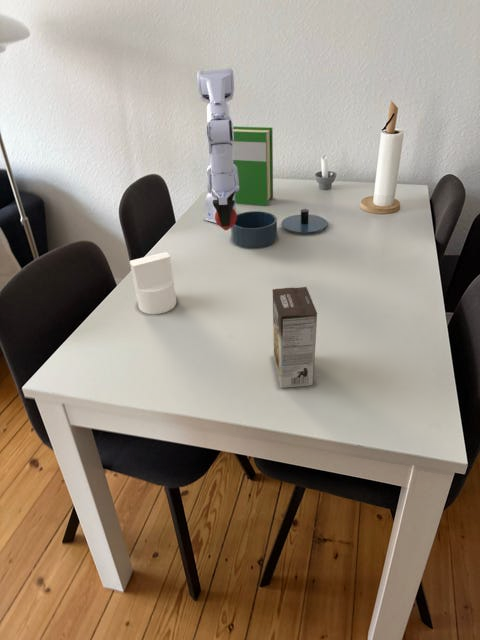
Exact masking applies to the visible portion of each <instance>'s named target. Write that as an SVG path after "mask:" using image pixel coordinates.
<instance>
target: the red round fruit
mask: <svg viewBox="0 0 480 640" xmlns="http://www.w3.org/2000/svg"><path fill="white" fill-rule="evenodd" d="M237 215H238V214H237V211H236V212H235V210H234V209H233V208H232V212H231V220H230V225H229V226H222V225H221V223H220V219H219V216H218V213H217V211H216V213H215V221H216V223H215V224H217V226H218V227H220V228H221V229H223V230H224V231H228V230H231V227H232V226H233V225H234V224H235V222H236V220H237Z"/></svg>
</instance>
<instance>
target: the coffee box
mask: <svg viewBox="0 0 480 640" xmlns="http://www.w3.org/2000/svg"><path fill="white" fill-rule="evenodd" d="M271 291H272V323H273V324H272V325H273V359H274V364H275V369H276V373H277V378H278V382H279V386H280V388H281V389H286V388H297V387H307V386H313V385H314V376H315V359H316V345H317V344H316V343H317V325H318V312H317V309H316V307H315V304H314V302H313V300H312V297H311V294H310V293H309V290H308V287H307V286H300V287H282V288H281V287H280V288H273V289H272V290H271Z"/></svg>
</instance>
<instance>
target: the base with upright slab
mask: <svg viewBox="0 0 480 640" xmlns="http://www.w3.org/2000/svg"><path fill="white" fill-rule="evenodd" d="M171 261H172V260H171V256H170V253H168V252H167V251H163V252H159V253H155V254H151V255H147V256H143V257H140V258H135V259H132V260H129V266H130V271H131V274H132V280H133V281H132V282H133V286H134V291H135V296H136V300H137V305H138V309H139V310H140V311H141V312H142V313H144V314H148V315H160V314H163V313H167V312H169V311H171V310H173V309H174V307H176V304H177V296H176V289H175V283H174V282H175V281H174V275H173V268H172V262H171Z"/></svg>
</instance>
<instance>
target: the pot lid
mask: <svg viewBox="0 0 480 640" xmlns="http://www.w3.org/2000/svg"><path fill="white" fill-rule="evenodd" d="M309 211H310V210H309V209H308V208H307V209H306V208H302V209H301V210H300V213H299V214H293V215H289V216H287V217H285V218H283V219H282V220H281V222H280V223H281V224H280V225H281V228H282V229H283V230H285V231H287V232H290V233H294V234H299V235H300V234H303V235H305V234H315V233H320V232H322V231H325V229H327V227H328V223H329V222H328V221H327V219H326V218H324V217H322V216H320V215H316V214H310V212H309Z"/></svg>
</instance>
